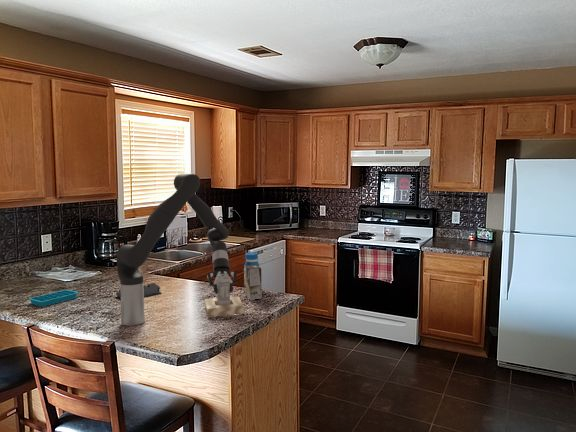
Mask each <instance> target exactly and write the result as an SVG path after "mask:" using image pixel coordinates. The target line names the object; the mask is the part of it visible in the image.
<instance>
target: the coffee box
mask: <svg viewBox="0 0 576 432" xmlns="http://www.w3.org/2000/svg"><path fill="white" fill-rule="evenodd" d="M244 269H245V282H246V290H245V297H246V296H247V297H248V298H249V299H250V300H251V301H255V300H254V299H261V298H263V297H262V295H263V294H262V293H263V292H262V267H261V266H260V265H259V266H257V265H249V266H245V267H244ZM247 297H246V298H247ZM248 298H247V299H248ZM249 299H248V300H249ZM250 300H249V301H250ZM261 300H262V299H261Z"/></svg>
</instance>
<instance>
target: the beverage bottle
mask: <svg viewBox="0 0 576 432" xmlns="http://www.w3.org/2000/svg"><path fill="white" fill-rule="evenodd" d="M244 254H245V255H244V257H245V258H244V259H245V260H246V261H245V263H244V265H243V267H244V268H243V274H244V275H243V276H244V277H243V278H244V280H243V281H244V286H243V287H244V288H246V282H245V266H249V265H257V266H259V267H260V263H259V262H258V261H259V260H258V259H259V254H258V252H251V251H250V252H246V253H244ZM244 290H245V291H246V289H244Z"/></svg>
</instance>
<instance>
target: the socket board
mask: <svg viewBox="0 0 576 432" xmlns="http://www.w3.org/2000/svg"><path fill="white" fill-rule="evenodd" d="M244 308H245V306H244V304H243V302H242V300H241V298H240V297H239V296H230V305H217V297H216V298H215V297H213V298H205V299H204V309H205V314H206V313H207V314H206V317H211V318H215V317H214V316H224V317H226V316H225V315H234V314H243V313H244V312H245V309H244ZM244 314H245V313H244Z"/></svg>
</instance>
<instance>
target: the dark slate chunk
mask: <svg viewBox="0 0 576 432" xmlns="http://www.w3.org/2000/svg"><path fill="white" fill-rule="evenodd" d="M160 290H161V287H160V286H159V285H157V284H156V282H151V283H147V284H146V285H145V284H144V299H145V298H150V297H154V296H160V295H162V292H161V291H160ZM115 295H116V296H117V297H118V298H119V299H120V300H121V291H117V292H116V293H115Z"/></svg>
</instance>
